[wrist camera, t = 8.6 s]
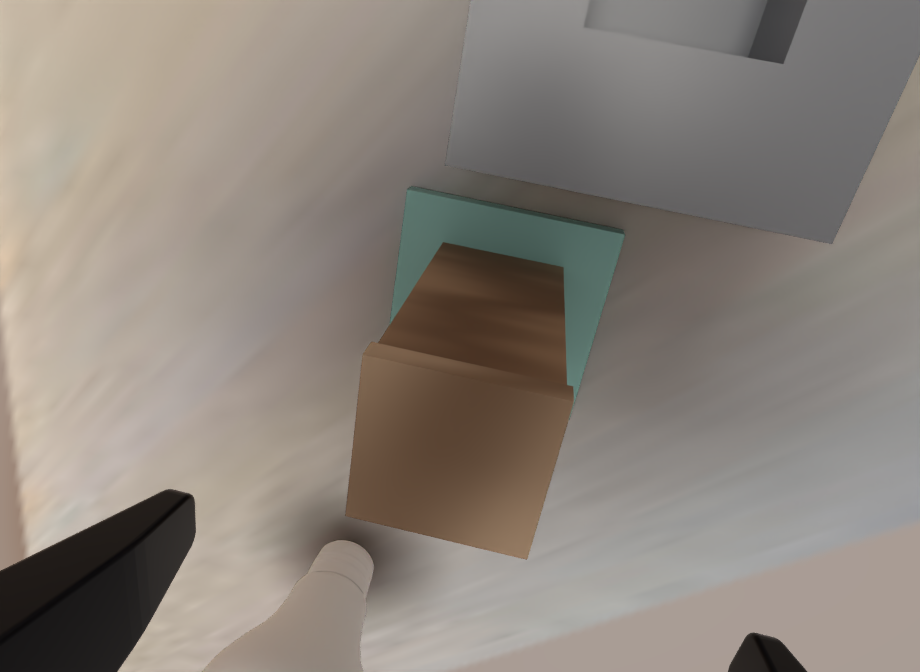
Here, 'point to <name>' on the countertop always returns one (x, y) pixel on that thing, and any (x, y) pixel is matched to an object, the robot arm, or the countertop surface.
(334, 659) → the lightbulb
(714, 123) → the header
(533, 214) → the mat
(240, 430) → the countertop surface
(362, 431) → the plug
